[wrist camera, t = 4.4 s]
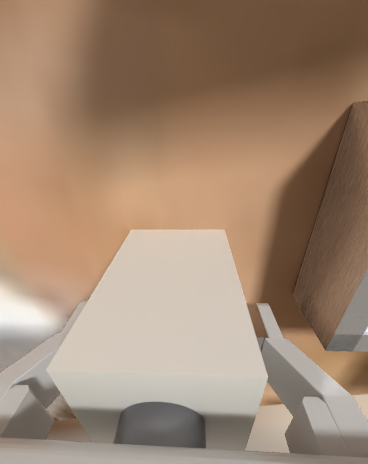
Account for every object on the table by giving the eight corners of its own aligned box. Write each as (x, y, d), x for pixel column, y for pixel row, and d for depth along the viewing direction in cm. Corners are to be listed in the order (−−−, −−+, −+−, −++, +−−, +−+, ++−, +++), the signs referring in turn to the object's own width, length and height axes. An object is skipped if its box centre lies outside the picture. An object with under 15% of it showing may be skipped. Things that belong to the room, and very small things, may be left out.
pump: (224, 229, 10) (320, 552, 3) (218, 298, 13) (260, 578, 5) (131, 229, 11) (-48, 524, 3) (142, 297, 13) (63, 560, 5)
